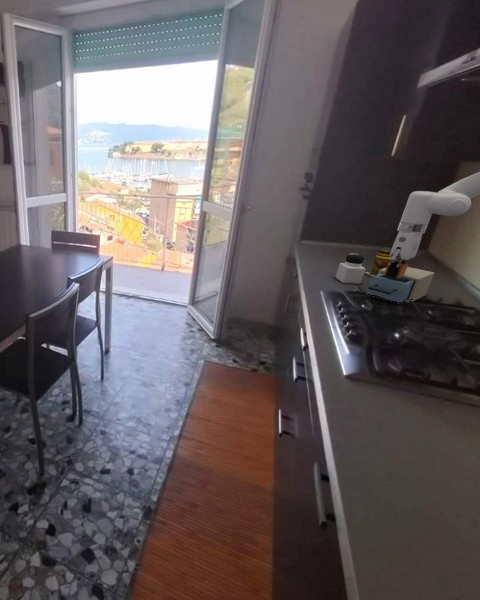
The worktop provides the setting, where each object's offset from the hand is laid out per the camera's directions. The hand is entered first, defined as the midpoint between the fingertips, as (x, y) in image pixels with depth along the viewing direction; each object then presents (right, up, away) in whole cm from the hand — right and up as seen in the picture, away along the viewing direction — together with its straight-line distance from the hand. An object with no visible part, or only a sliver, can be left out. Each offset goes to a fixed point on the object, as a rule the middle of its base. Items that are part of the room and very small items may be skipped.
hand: (394, 274), depth 134 cm
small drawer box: (+10, -7, +9) cm, 15 cm away
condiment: (+19, +2, +30) cm, 35 cm away
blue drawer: (0, -8, +4) cm, 9 cm away
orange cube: (0, 0, 0) cm, 0 cm away
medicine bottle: (0, -1, +23) cm, 23 cm away
